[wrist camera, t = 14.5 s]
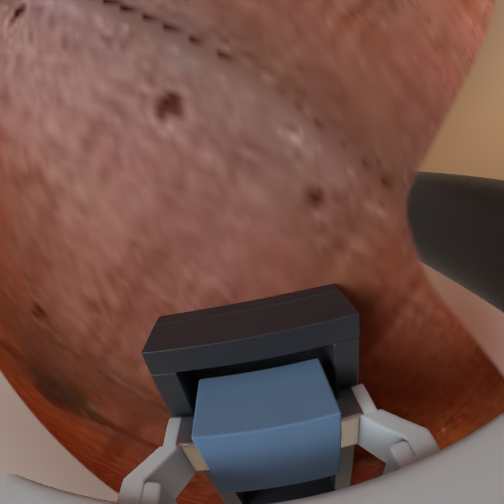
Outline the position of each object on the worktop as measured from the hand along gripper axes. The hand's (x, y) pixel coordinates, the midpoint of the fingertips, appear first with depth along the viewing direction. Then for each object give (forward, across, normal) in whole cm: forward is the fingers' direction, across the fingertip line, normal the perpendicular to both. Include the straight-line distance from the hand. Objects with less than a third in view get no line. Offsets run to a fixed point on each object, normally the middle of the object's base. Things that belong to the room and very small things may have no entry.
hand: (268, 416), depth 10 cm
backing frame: (+3, 0, +3) cm, 4 cm away
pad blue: (+1, 0, 0) cm, 1 cm away
